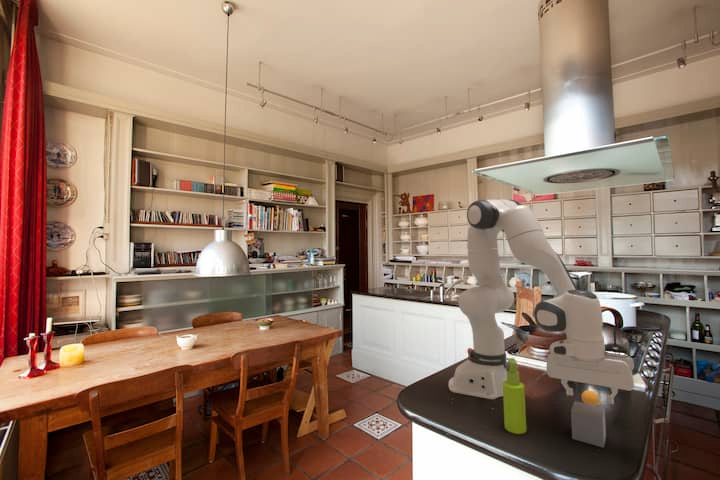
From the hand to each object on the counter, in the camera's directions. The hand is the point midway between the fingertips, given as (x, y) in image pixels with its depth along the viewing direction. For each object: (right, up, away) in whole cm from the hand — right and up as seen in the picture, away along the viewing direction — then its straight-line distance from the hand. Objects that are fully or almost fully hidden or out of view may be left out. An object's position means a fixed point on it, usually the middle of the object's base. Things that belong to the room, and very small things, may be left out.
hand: (589, 398), depth 95 cm
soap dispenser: (-18, -12, +7) cm, 22 cm away
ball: (+13, -8, +18) cm, 24 cm away
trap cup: (0, -11, 0) cm, 11 cm away
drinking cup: (+35, -11, +36) cm, 51 cm away
